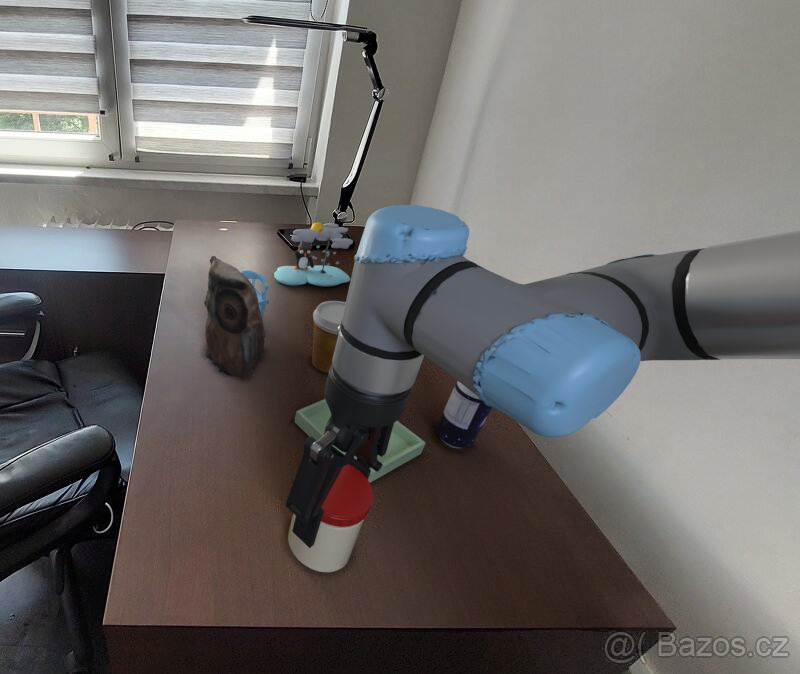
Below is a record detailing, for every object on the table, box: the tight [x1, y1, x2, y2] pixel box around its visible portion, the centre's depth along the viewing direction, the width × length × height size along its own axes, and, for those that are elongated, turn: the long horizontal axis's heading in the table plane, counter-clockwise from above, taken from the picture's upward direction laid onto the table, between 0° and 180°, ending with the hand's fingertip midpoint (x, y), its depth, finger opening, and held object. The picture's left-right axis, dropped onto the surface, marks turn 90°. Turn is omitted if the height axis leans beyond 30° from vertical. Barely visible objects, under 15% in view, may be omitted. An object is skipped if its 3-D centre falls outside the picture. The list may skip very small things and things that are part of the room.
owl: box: [204, 255, 266, 381], centre depth 86 cm, size 13×13×20 cm
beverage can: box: [435, 380, 493, 449], centre depth 72 cm, size 6×6×12 cm
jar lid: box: [321, 464, 374, 527], centre depth 53 cm, size 8×8×2 cm
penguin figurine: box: [273, 221, 354, 288], centre depth 117 cm, size 20×11×15 cm, turn 91°
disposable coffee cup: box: [311, 300, 346, 374], centre depth 88 cm, size 10×10×12 cm
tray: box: [293, 398, 426, 484], centre depth 74 cm, size 15×13×2 cm
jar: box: [287, 513, 365, 573], centre depth 56 cm, size 8×8×10 cm
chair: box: [240, 270, 270, 320], centre depth 99 cm, size 8×8×12 cm
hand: (326, 517), depth 56 cm, fingers closed on jar lid, 8 cm apart
